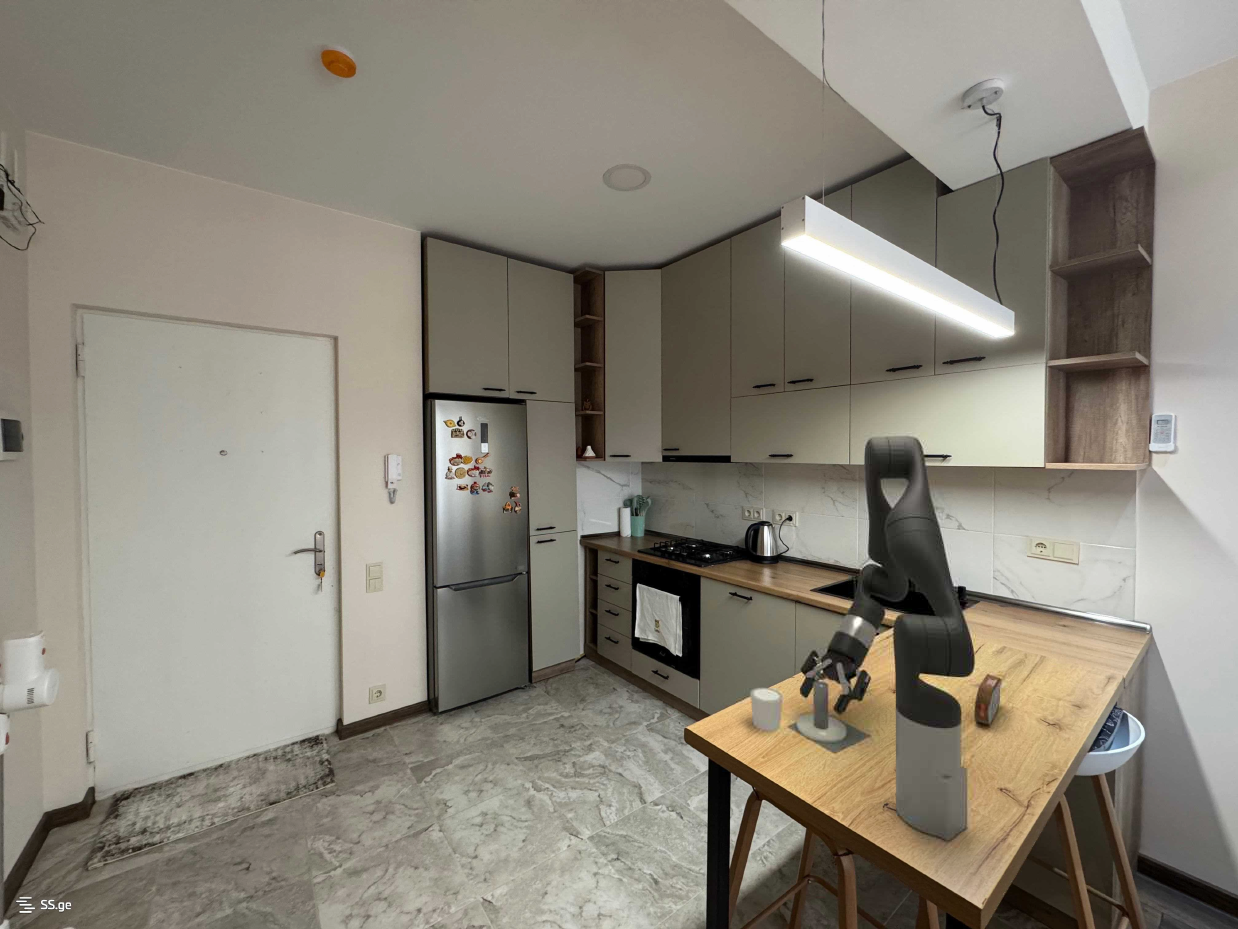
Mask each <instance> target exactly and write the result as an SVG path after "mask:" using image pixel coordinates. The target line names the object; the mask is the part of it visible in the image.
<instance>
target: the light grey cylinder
mask: <svg viewBox="0 0 1238 929" xmlns="http://www.w3.org/2000/svg"><path fill="white" fill-rule="evenodd" d="M750 703H751V712H752V713H751V714H752V721H753V722H752V723H753V725H754V726H755V728H758V730H761V731H763V732H765V731H766V732H775V731H779V729H780V727H781V719H782V718H781V717H782V706H783V694H781V692H779V691H778V690H777V689H773V688H769V687H756V688H753V689H752V690H751V691H750Z"/></svg>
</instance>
